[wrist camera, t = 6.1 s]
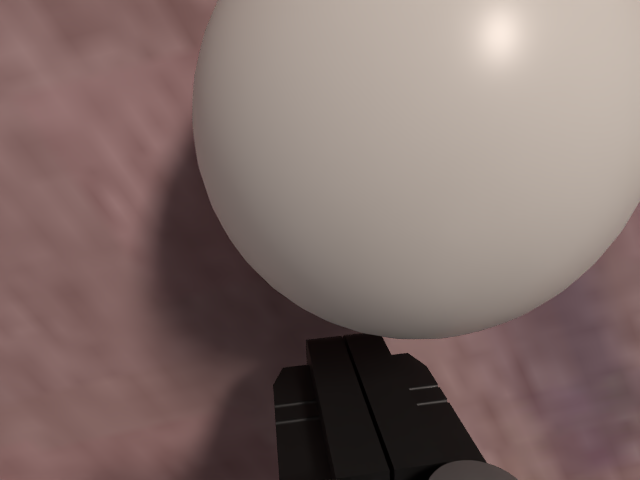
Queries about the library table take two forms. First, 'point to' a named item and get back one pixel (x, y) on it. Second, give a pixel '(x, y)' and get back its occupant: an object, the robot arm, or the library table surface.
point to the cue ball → (420, 151)
